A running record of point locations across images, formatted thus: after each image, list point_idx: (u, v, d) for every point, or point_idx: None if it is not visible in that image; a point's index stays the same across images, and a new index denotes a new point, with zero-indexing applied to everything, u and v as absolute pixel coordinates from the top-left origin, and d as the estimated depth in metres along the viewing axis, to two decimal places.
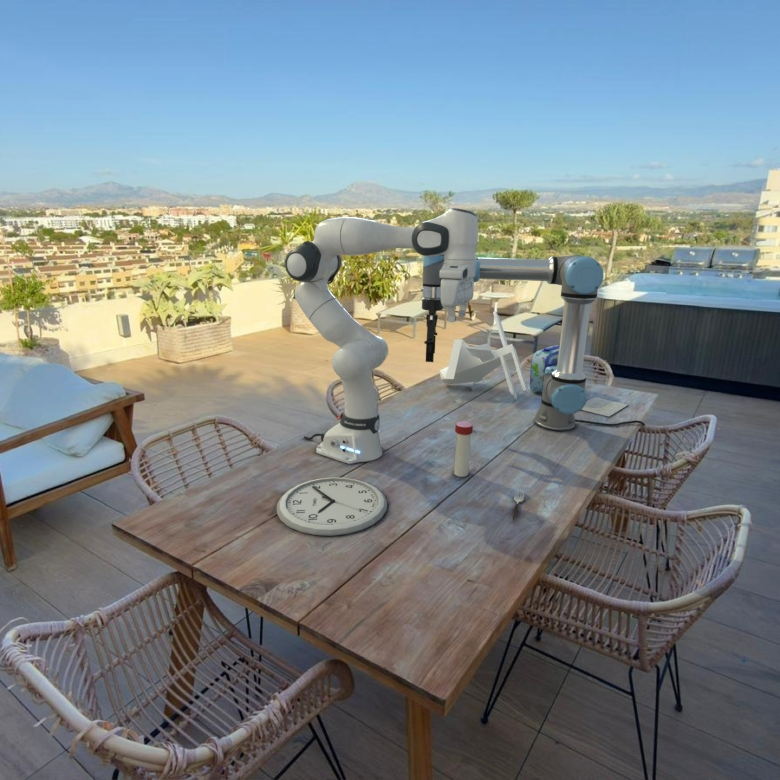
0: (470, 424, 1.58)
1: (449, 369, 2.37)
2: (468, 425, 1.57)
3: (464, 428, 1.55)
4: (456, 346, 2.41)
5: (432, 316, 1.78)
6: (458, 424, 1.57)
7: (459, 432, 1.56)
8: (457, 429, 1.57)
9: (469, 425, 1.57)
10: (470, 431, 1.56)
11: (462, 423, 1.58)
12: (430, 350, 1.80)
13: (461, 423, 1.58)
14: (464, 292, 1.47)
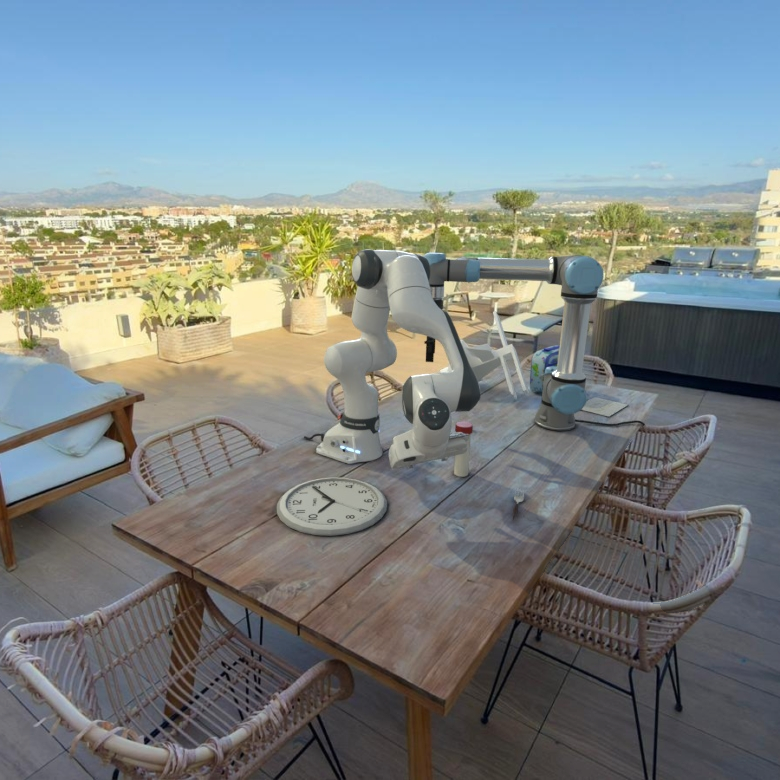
0: (470, 424, 1.58)
1: (449, 369, 2.37)
2: (468, 425, 1.57)
3: (464, 428, 1.55)
4: None
5: None
6: (458, 424, 1.57)
7: None
8: (457, 429, 1.57)
9: (469, 425, 1.57)
10: (470, 431, 1.56)
11: (462, 423, 1.58)
12: (430, 350, 1.80)
13: (461, 423, 1.58)
14: None
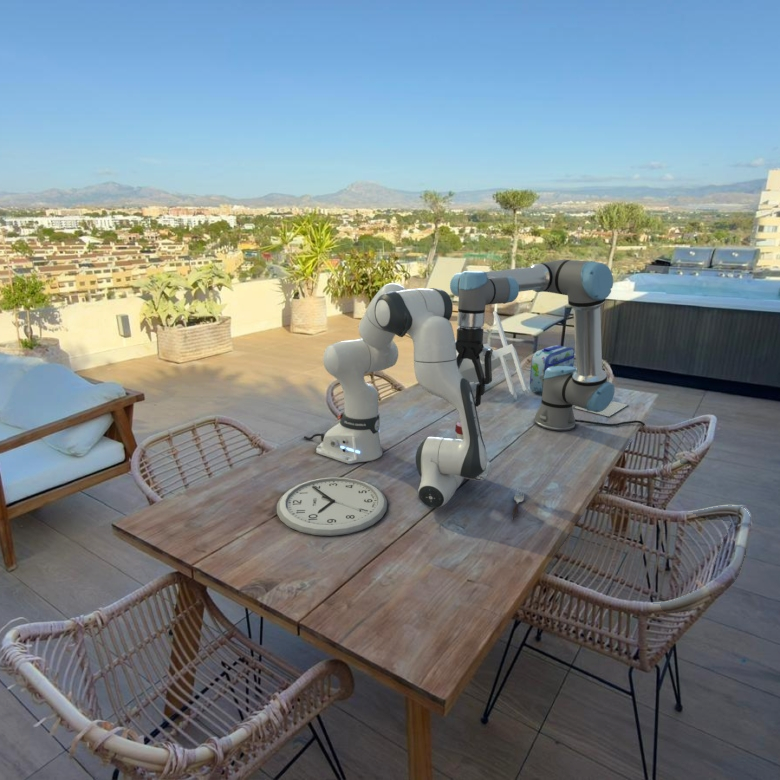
0: None
1: None
2: None
3: None
4: None
5: None
6: (458, 424, 1.57)
7: (459, 432, 1.56)
8: (457, 429, 1.57)
9: None
10: None
11: None
12: None
13: None
14: None
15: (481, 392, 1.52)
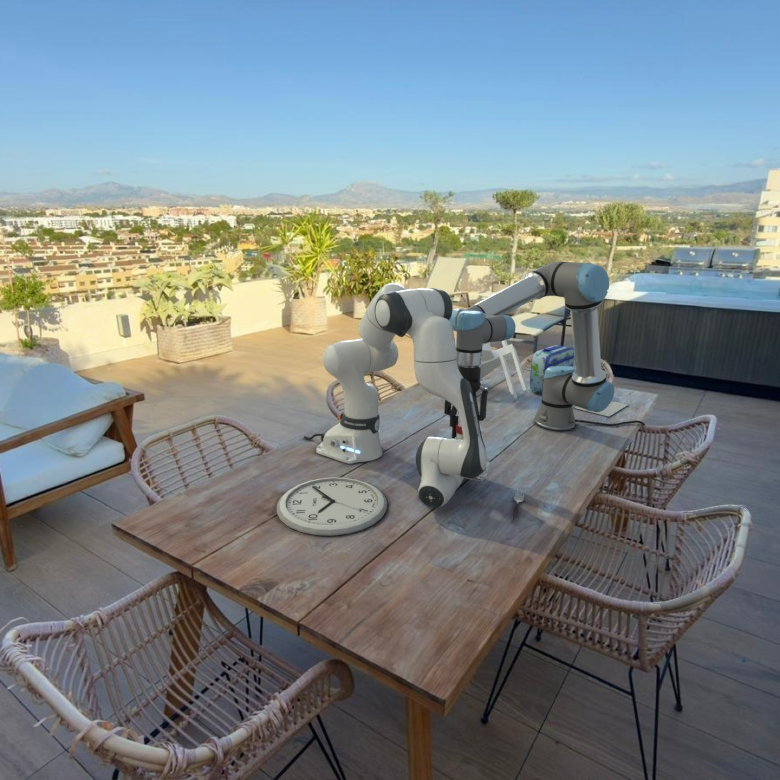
0: None
1: None
2: None
3: None
4: None
5: None
6: (458, 424, 1.57)
7: (459, 432, 1.56)
8: (457, 429, 1.57)
9: None
10: None
11: None
12: None
13: None
14: None
15: None
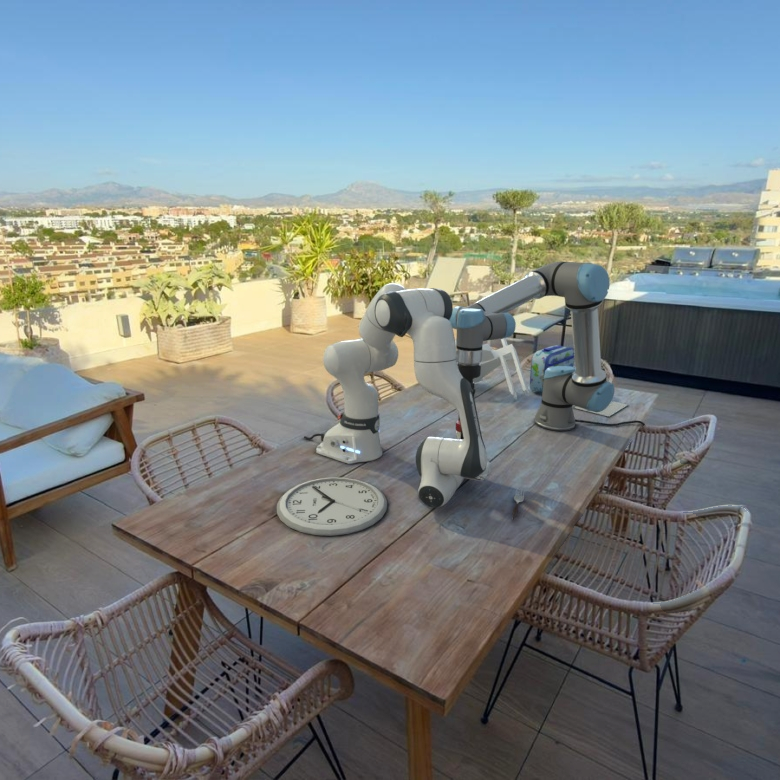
0: None
1: None
2: None
3: None
4: None
5: None
6: None
7: None
8: None
9: None
10: None
11: None
12: None
13: None
14: None
15: None
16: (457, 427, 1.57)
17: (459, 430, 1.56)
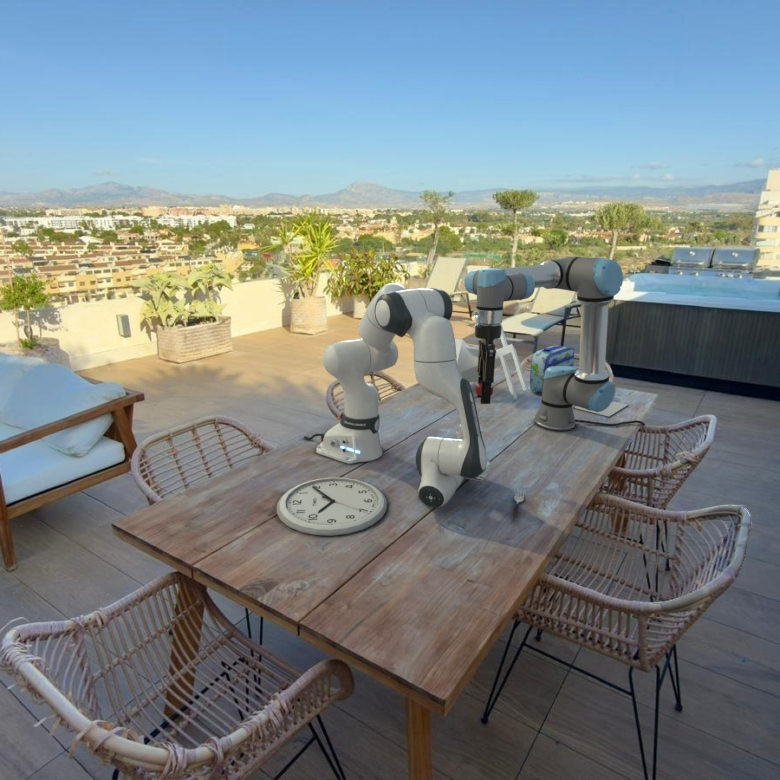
0: (480, 383, 1.57)
1: None
2: None
3: None
4: (456, 346, 2.41)
5: (492, 352, 1.46)
6: None
7: (492, 391, 1.56)
8: (492, 390, 1.55)
9: None
10: None
11: None
12: (488, 390, 1.52)
13: None
14: None
15: None
16: (477, 390, 1.55)
17: (479, 393, 1.54)
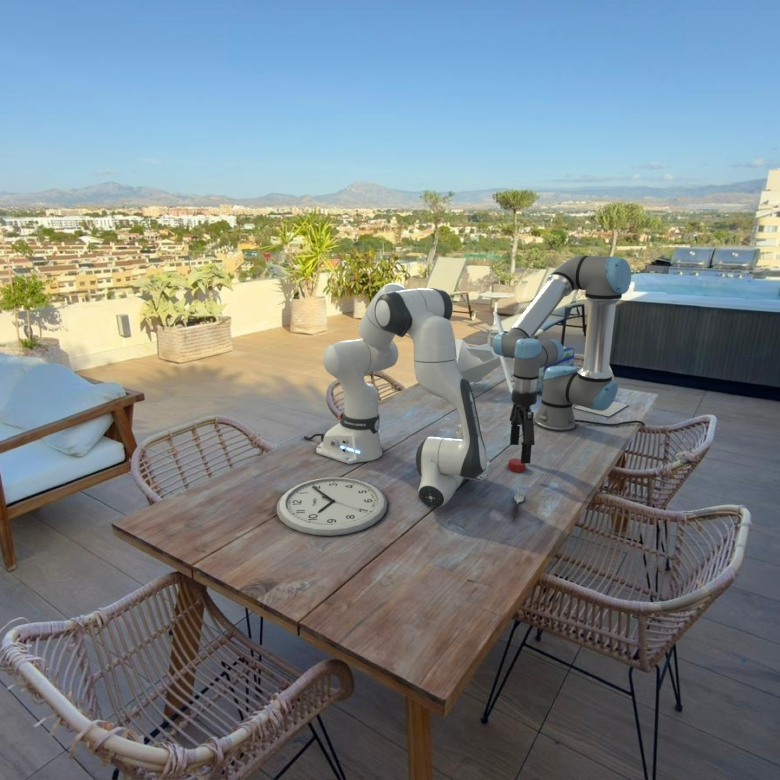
0: (513, 459, 1.68)
1: None
2: (516, 459, 1.67)
3: None
4: (456, 346, 2.41)
5: (530, 414, 1.54)
6: None
7: (524, 467, 1.66)
8: (524, 466, 1.65)
9: (516, 459, 1.68)
10: None
11: (516, 462, 1.65)
12: (528, 451, 1.56)
13: (517, 462, 1.65)
14: None
15: None
16: (510, 466, 1.65)
17: (512, 469, 1.65)
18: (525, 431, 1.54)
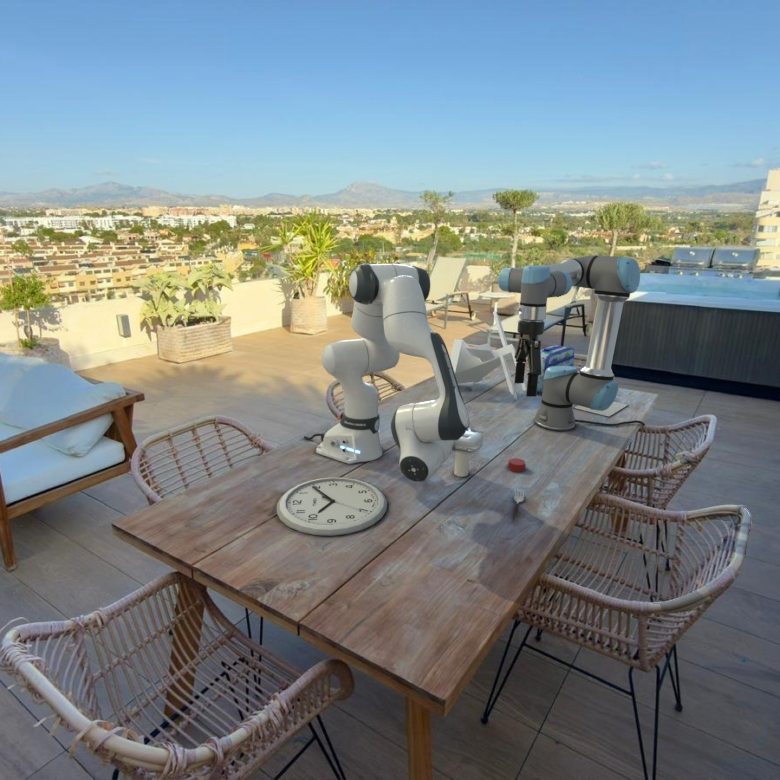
0: (513, 459, 1.68)
1: None
2: (516, 459, 1.67)
3: None
4: (456, 346, 2.41)
5: (537, 342, 1.48)
6: (521, 463, 1.65)
7: (524, 467, 1.66)
8: (524, 466, 1.65)
9: (516, 459, 1.68)
10: None
11: (516, 462, 1.65)
12: (534, 383, 1.50)
13: (517, 462, 1.65)
14: None
15: None
16: (510, 466, 1.65)
17: (512, 469, 1.65)
18: (532, 360, 1.48)
